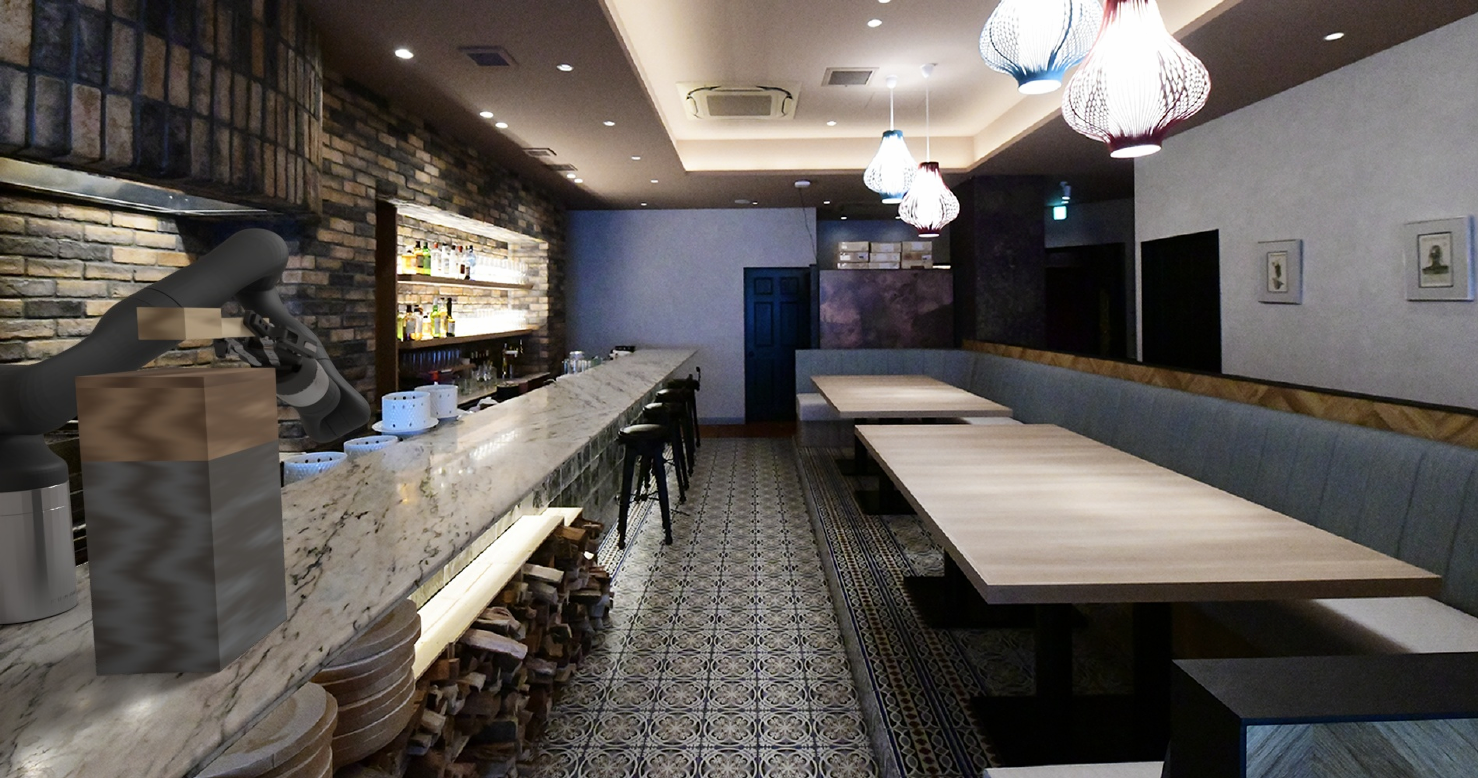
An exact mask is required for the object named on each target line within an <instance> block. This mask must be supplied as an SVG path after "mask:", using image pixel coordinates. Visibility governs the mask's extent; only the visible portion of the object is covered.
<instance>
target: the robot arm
mask: <svg viewBox="0 0 1478 778" xmlns="http://www.w3.org/2000/svg"><path fill="white" fill-rule="evenodd" d="M289 257H290V251H289V248H288V246H287V243H286V242H285V240H284V239H283V237H281V236H280V235H279V234H277V233H276V232H273V231H272V230H269V229H264V228H259V227H257V228H246V229H242V230H239V231H237V232H235V233H234V234H232V235H231V236H229V237H228V238H227V239H225V240H224V241H223V242H222V243H220V244H219V245H218V246H216V247H215V248H213V249H212V250H211V251H209V252H207V253H206V254H205V255H203V256H202V257H201V258H198V259H197V260H194V261H193V262H192V263H190V264H187V265H185V266H184V267H182V268H180V269H178V270H175V271H174V272H172V273H170V274H168V275H167V276H165V277H163V278H161V279H159V280H157V281H155V282H153V283H151V284H150V285H147V286H145V287H143V288H141V289H139V290H138V291H135V292H134V293H132V294H130V295H129V296H126V297H125V298H123V299H121V300H119V301H118V302H117V303H115V304H114V305H112V306H111V307H109V308H108V310H106V311H105V312H104V314H103V315H102V316H101V318H100V319H99V320H98V321H97V322H96V324H95V326H94V328H93V329H92V331H90V333H89V334H88V335H87V336H86V337H85V338H83V339H82V340H81V341H79V342H78V343H76V344H75V345H72V346H71V347H69V348H66V349H65V350H63V351H61V352H59V353H57V354H55V355H53V356H50V357H48V358H46V359H44V360H41V361H38V362H35V363H29V364H15V363H14V364H11V363H10V364H9V363H8V364H7V363H3V364H2V363H0V625H3V624H4V625H6V624H16V623H17V624H18V623H23V622H30V621H35V620H41V619H45V618H49V617H51V616H55V615H58V614H62V613H64V612H66V611H68V610H71V609H72V608H74V607H75V606H77V605H78V603H79V600H78V599H79V597H78V586H77V585H78V584H77V569H76V558H75V557H76V556H75V555H76V554H75V545H74V531H73V516H72V506H71V505H72V504H71V492H70V478H69V476H70V475H69V467H68V466H69V465H68V463H67V461H66V460H64V459H63V458H62V457H61V456H59V455H57V454H56V453H54V452H53V450H51V449H50V447H49V446H48V445H47V443H46V441H45V436H44V434H48V433H50V432H54V431H56V430H58V429H60V428H62V427H64V426H65V425H66V424H68V423H69V422H70V421H72V420H73V419H75V418H76V417H78V413H77V399H76V385H75V377H78V376H88V375H98V374H109V373H119V372H129V371H139V370H140V369H142V368H143V367H145V366H146V365H148V364H149V363H150V362H152V361H154V360H155V359H158V358H159V357H160V356H161V355H162V356H163V355H164V354H165V353H167V352H168V351H170V350H172V349H174V348H175V347H177V346H178V345H180V344H181V343H183V342H185V340H142V339H139V335H138V320H137V307H166V308H221V318H233V316H231V315H230V314H229V313H228V312H227V311H226V310H224V309H222V308H223V306H225V304H226V303H228V302H229V300H231V298H232V297H233V298H234V299H235V300H236V302H238V305H239V306H241V308H242V309H243V310H244V314H243V317H242V318H244V319H243V324H244V325H245V326H246V327H247V328H248V329H249V330H250V331H251V332H252V333H253V334H254V335H255V336H249V337H226V338H214V339H213V340H212V341H213V342H212V343H213V347H214V354H215V355H214V356H215V358H218V359H224V360H225V359H226V358H227V356H236V357H237V358H239V360H241V361H242V362H244V363H247V364H248V365H249V368H275V375H276V396H277V397H278V398H279V399H280V400H282V401H284V402H286V403H287V404H288V405H289V406H291V408H292V409H294V410H295V411H296V412H297V413H298V415H299V420H300V423H301V426H302V429H303V430H304V432H305V434H306V435H307V437H309V438H310V439H311V440H312V441H314V442H317V443H320V444H326V443H331V442H333V441H335V440H337V439H339V438H341V437H342V436H344V435H347V434H348V433H350V432H353V431H354V430H356V429H358V428H360V427H362V426H364V425H366V424H367V423H368V422H369V420H370V418H371V412H372V411H371V407H370V406H371V405H370V404H369V402H368V401H367V399H366V398H364V396H362V394H361V393H360V392H358V391H357V389H355V388H354V387H353V386H352V385H351V384H350V383H349V382H348V381H347V380H346V379H345V378H344V377H343V376H342V375H341V374H340V372H339V371H338V369H336V367H335V365H334V364H333V362H332V360H331V357H329V355H328V353H327V351H326V349H325V347H324V345H323V344H322V342H321V341H320V339H319V338H318V336H317V335H316V334H315V333H314V332H313V331H312V330H311V329H310V328H309V327H308V326H306V325H305V324H303V323H302V322H301V321H299V320H298V319H297V318H295V317H294V316H293V315H292V314H291V313H290V312H289V311H288V310H287V309H286V307H285V305H284V304H283V302H282V300H281V298H280V295H279V293H278V288H277V286H276V285H277V283H278V282H279V280H280V278H281V277H282V276H283V274H284V272H285V270H286V268H287V266H288V263H289ZM263 318H269V323H267V322H266V321H265V320H264V319H263Z"/></svg>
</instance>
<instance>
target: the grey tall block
mask: <svg viewBox="0 0 1478 778" xmlns="http://www.w3.org/2000/svg"><path fill="white" fill-rule="evenodd" d="M75 385H76V399H77V413H78V415H77V424H78V425H77V426H78V437H79V438H78V439H79V453H80V464H81V465H80V466H81V479H82V480H81V481H82V494H83V506H84V508H83V509H84V521H85V535H86V536H85V537H86V547H87V549H86V550H87V561H88V574H89V575H88V577H89V590H90V603H91V604H90V605H91V606H90V607H91V619H92V631H93V633H92V634H93V644H94V647H93V648H94V657H95V658H94V659H95V670H96V672H95V673H96V676H113V675H114V676H116V675H117V676H118V675H146V674H147V675H149V674H173V673H174V674H175V673H176V674H178V673H179V674H180V673H205V672H206V673H208V672H209V673H210V672H222V671H223V670H224V669H225V668H227V667H228V666H230V664H232V663H233V662H234V661H236V660H237V659H238V658H239V657H241V656H242V655H243V654H245V652H247V651H248V650H250V649H251V648H252V647H254V646H255V645H256V644H258V642H260V641H261V640H262V639H264V638H265V637H266V636H267V635H269V634H270V633H271V632H273V630H275V629H276V628H278V627H279V626H280V625H282V624H283V623H285V622H286V621H287V620H288V608H287V607H288V605H287V589H286V588H287V587H286V586H287V585H286V566H285V565H286V564H285V563H286V562H285V547H284V545H285V544H284V543H285V541H284V525H283V524H284V523H283V522H284V521H283V520H284V519H283V503H282V485H281V480H282V479H281V463H280V460H281V459H280V443H279V441H280V440H279V419H278V402H277V401H278V400H277V397H278V396H277V395H276V375H275V368H251V367H162V368H152V369H151V368H150V369H142V370H140V369H139V370H137V371H129V372H119V373H109V374H98V375H88V376H78V377H75Z"/></svg>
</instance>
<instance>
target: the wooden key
mask: <svg viewBox="0 0 1478 778" xmlns="http://www.w3.org/2000/svg"><path fill="white" fill-rule="evenodd" d="M221 310H222V308H166V307H137V320H138V335H139V339H142V340H184V341H186V340H187V341H188V340H211V339H213V340H214V338H226V337H236V338H237V337H249V336H255V335H254V334H253V333H252V332H251V331H250V330H249V329H248V328H247V327H246V326H245V325H244V324H243V319H244V318H243V317H232V318H221ZM263 319H264V320H265V321H266V322H267V323H269V318H263Z"/></svg>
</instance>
